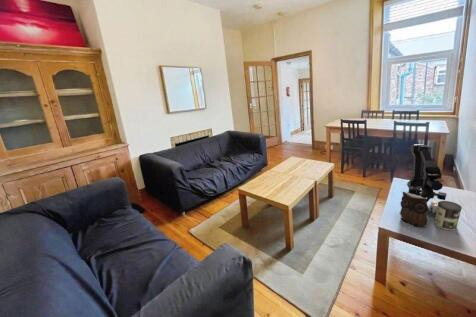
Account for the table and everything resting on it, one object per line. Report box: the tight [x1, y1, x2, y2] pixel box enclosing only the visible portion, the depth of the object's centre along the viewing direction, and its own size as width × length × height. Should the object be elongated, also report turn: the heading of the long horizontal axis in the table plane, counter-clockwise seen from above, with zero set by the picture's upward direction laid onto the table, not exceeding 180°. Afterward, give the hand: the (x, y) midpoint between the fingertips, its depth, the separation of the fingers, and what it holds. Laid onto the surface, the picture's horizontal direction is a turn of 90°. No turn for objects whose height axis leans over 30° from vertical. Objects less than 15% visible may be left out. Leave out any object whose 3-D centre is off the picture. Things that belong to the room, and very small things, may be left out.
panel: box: [426, 203, 436, 218], centre depth 146 cm, size 12×12×3 cm
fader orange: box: [430, 200, 439, 208], centre depth 149 cm, size 3×2×4 cm
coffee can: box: [433, 200, 462, 231], centre depth 134 cm, size 10×10×14 cm
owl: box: [399, 191, 429, 229], centre depth 139 cm, size 13×13×20 cm
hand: (425, 203), depth 152 cm, fingers closed
